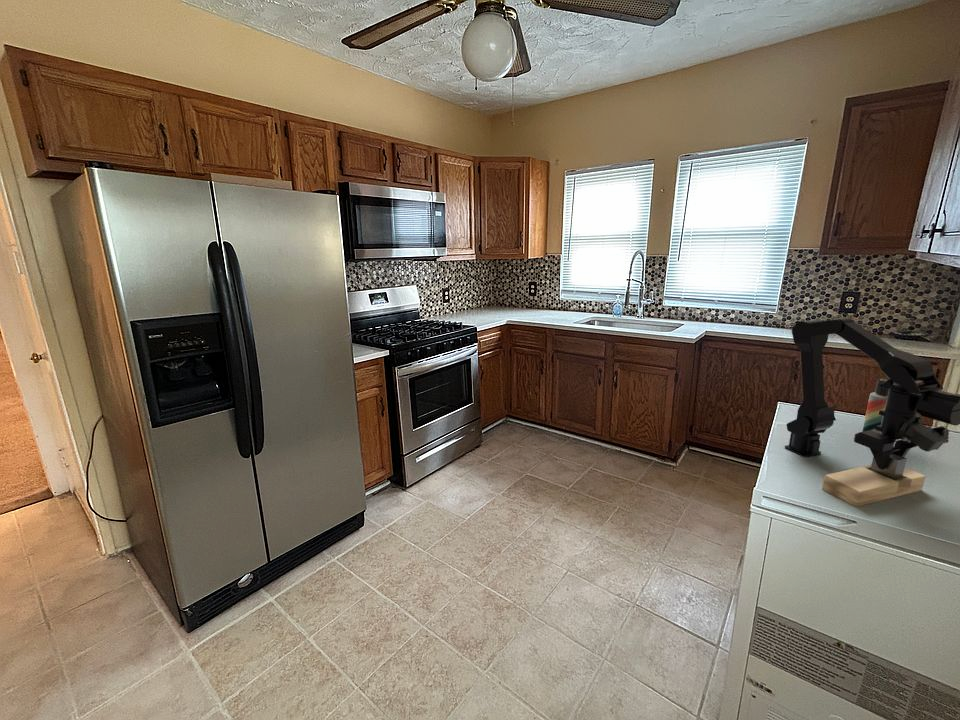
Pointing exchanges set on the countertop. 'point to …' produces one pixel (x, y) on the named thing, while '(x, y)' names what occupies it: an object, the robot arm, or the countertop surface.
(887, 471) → the grey gripped block
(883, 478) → the slotted wooden block
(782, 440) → the countertop surface
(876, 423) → the lotion bottle
